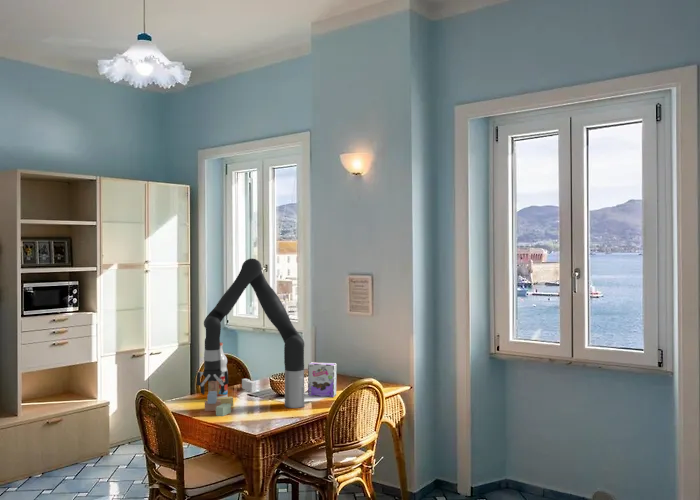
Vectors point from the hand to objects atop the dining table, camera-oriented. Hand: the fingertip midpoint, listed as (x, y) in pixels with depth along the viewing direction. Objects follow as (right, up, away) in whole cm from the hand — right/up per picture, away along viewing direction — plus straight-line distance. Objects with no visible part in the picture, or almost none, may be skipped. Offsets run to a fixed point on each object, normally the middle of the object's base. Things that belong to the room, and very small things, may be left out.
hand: (212, 393), depth 287 cm
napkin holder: (+10, -8, +41) cm, 43 cm away
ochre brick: (+4, -8, +7) cm, 11 cm away
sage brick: (+6, -8, -7) cm, 12 cm away
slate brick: (0, -4, 0) cm, 4 cm away
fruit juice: (-2, -8, +20) cm, 21 cm away
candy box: (+50, -8, +28) cm, 58 cm away
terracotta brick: (0, -8, 0) cm, 8 cm away
